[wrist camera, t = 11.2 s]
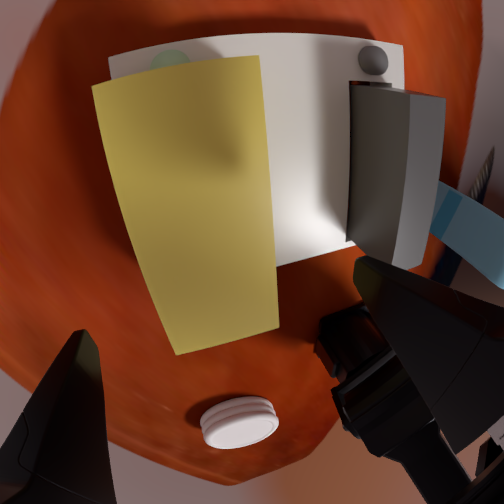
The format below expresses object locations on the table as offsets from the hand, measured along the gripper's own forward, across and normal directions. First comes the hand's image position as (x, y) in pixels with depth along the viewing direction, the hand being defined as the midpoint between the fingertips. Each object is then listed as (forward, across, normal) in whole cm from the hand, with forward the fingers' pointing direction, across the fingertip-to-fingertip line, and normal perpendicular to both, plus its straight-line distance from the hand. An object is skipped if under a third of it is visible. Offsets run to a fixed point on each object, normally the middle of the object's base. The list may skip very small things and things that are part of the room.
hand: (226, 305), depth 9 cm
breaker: (+9, -12, 0) cm, 15 cm away
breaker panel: (+12, -6, -1) cm, 13 cm away
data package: (+12, -25, +7) cm, 29 cm away
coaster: (+12, +1, +31) cm, 34 cm away
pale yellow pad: (+9, 0, 0) cm, 9 cm away
